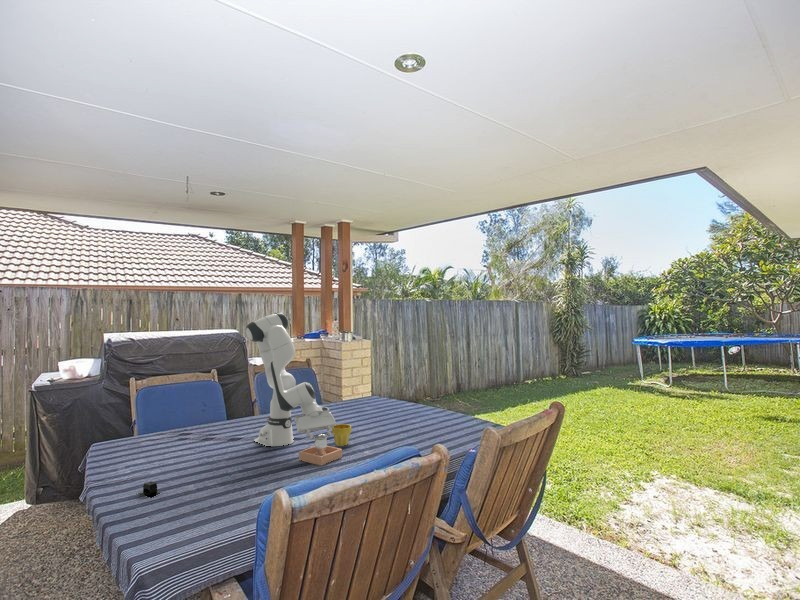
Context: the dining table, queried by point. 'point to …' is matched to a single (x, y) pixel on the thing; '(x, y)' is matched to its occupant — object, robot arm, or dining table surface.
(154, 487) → the black block
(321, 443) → the silver metal cylinder
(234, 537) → the dining table surface
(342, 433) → the plant pot
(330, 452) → the terracotta bin
